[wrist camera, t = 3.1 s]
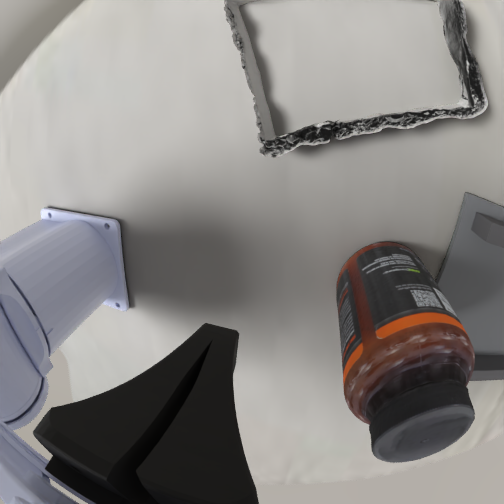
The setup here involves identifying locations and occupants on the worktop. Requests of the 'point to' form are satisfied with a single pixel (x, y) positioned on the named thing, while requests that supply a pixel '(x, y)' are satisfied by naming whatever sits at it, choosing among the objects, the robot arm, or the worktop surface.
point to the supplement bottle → (402, 354)
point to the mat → (478, 282)
